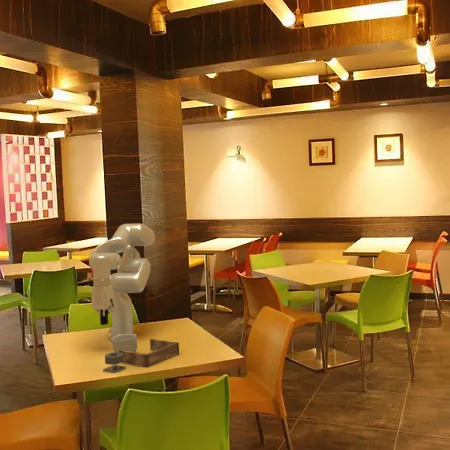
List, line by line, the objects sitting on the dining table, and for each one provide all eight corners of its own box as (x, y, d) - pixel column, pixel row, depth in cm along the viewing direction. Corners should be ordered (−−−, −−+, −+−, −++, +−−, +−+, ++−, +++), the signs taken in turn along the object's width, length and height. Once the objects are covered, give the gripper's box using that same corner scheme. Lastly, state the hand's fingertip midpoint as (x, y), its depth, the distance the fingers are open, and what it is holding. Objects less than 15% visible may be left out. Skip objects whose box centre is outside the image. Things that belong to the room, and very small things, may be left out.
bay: (119, 362, 243) (118, 350, 243) (152, 349, 260) (151, 338, 259) (147, 367, 234) (146, 355, 234) (179, 354, 251) (178, 342, 251)
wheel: (101, 363, 233) (101, 356, 232) (114, 358, 238) (113, 351, 238) (114, 365, 229) (113, 358, 228) (126, 360, 234) (126, 353, 234)
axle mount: (103, 370, 233) (102, 362, 233) (114, 366, 238) (114, 357, 238) (114, 372, 229) (114, 364, 229) (126, 368, 235) (125, 359, 234)
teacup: (139, 356, 250) (138, 338, 250) (113, 359, 247) (112, 341, 247) (134, 348, 263) (133, 330, 263) (110, 351, 260) (109, 333, 260)
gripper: (84, 283, 260) (86, 324, 261) (108, 285, 252) (110, 327, 253) (96, 281, 267) (98, 321, 267) (120, 282, 258) (122, 324, 259)
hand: (104, 324), depth 260 cm, fingers closed
